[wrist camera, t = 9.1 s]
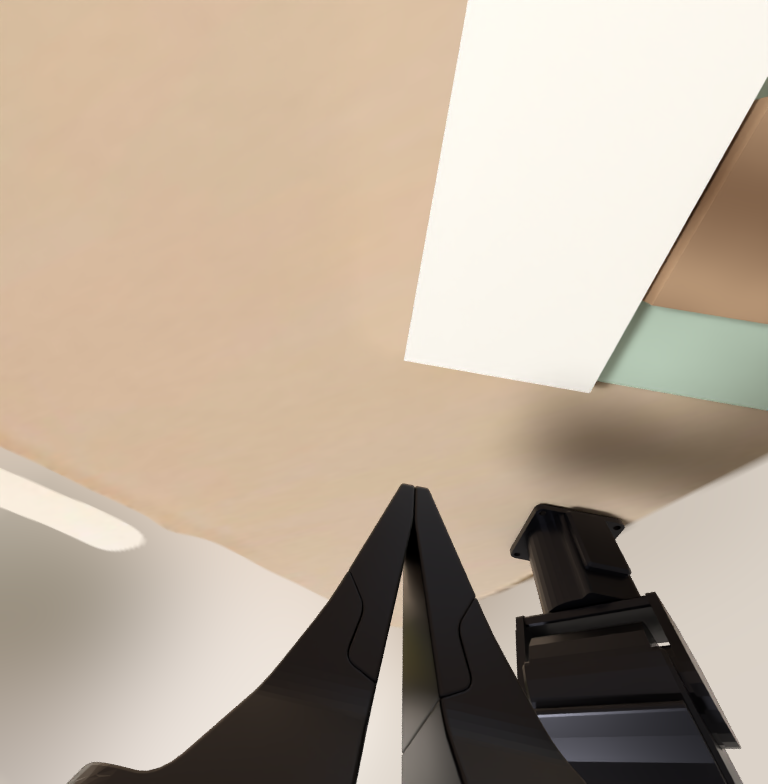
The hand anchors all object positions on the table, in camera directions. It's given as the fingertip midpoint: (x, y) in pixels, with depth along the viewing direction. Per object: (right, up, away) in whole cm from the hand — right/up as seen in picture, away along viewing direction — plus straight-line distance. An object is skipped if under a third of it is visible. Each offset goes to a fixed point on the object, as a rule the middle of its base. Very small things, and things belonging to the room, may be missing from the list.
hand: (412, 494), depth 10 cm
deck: (+6, +12, +5) cm, 14 cm away
